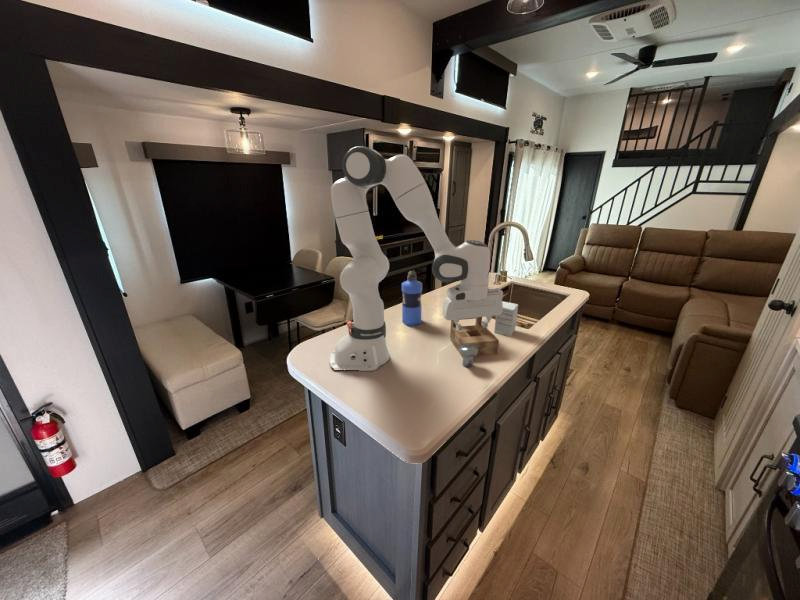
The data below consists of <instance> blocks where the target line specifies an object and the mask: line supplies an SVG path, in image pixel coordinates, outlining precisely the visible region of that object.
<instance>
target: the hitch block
mask: <svg viewBox="0 0 800 600" xmlns="http://www.w3.org/2000/svg"><path fill="white" fill-rule="evenodd" d="M482 321H483V317H476V318H475V324H474V325H462V330H460V331H457V330H456V324H455V322H454V321H453V320H450V330H449V331H450V335H449V337H450V342H451V343H452V345H453V346H454V347H455V349H456V351H457V352H458V353H459V355H460V356H461V358H462V359H463V355H462V354H461V353H460V346H461V345H462V344H473V345H475V346H477V347H478V354H477V355H476V356H473V358H474V357H481V356H490V355H497V354H498V349H499V344H500V343H499V342H500V340H499V338H498V337H496V336H495V335H494V334H493V332H492V331H490V330H489V328H488V327H486V328H483V327H482Z"/></svg>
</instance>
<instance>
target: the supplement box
mask: <svg viewBox="0 0 800 600" xmlns="http://www.w3.org/2000/svg"><path fill="white" fill-rule="evenodd" d="M502 303H503V312H502V313H501V314H500V315H495V319H494V320H495V321H494V331H493V332H494V334H499V335H503V336H506V337H512V336H513V334H514V332H515V331H516V325H517V317H518V310H519V303H518V304H517V303H513V302H509V301H503V300H502Z"/></svg>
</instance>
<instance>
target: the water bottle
mask: <svg viewBox="0 0 800 600" xmlns="http://www.w3.org/2000/svg"><path fill="white" fill-rule="evenodd" d="M407 274H408V275H407V278H406V279H407V280H405V281H403V282H402V283H401V293H402V305H401V308H402V309H401V311H402V312H401V315H402V316H401V320H402V322H403V323H404V324H403V323H402V324H403V325H405V326H408V325H409V327H415V326H416V327H417V326H419V325H421V323H422V311H423V310H422V294H423V293H422V292H423V283H422V282H421V281H418V280H417V279H418V278H417V272H416V271H415V270H414V269H413V270H412V269H411V270H409V271H408V272H407Z"/></svg>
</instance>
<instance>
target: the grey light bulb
mask: <svg viewBox="0 0 800 600" xmlns="http://www.w3.org/2000/svg"><path fill="white" fill-rule="evenodd" d="M460 353H461V354H462V355H463V358H462V366H463V368H466V369H467V368H473V365H474V357H477V356H476V355H477V354H478V347H477V346H475V345H473V344H462V345H461V346H460ZM460 353H459V354H460ZM473 356H474V357H473Z"/></svg>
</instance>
